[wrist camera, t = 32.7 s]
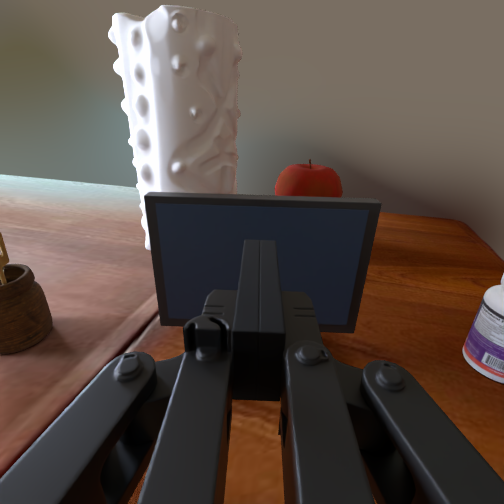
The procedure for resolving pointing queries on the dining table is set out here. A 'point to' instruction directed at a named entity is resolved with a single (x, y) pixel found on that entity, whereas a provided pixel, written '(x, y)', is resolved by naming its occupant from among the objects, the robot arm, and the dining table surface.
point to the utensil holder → (20, 307)
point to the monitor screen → (261, 228)
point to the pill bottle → (488, 336)
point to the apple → (308, 181)
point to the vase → (180, 99)
